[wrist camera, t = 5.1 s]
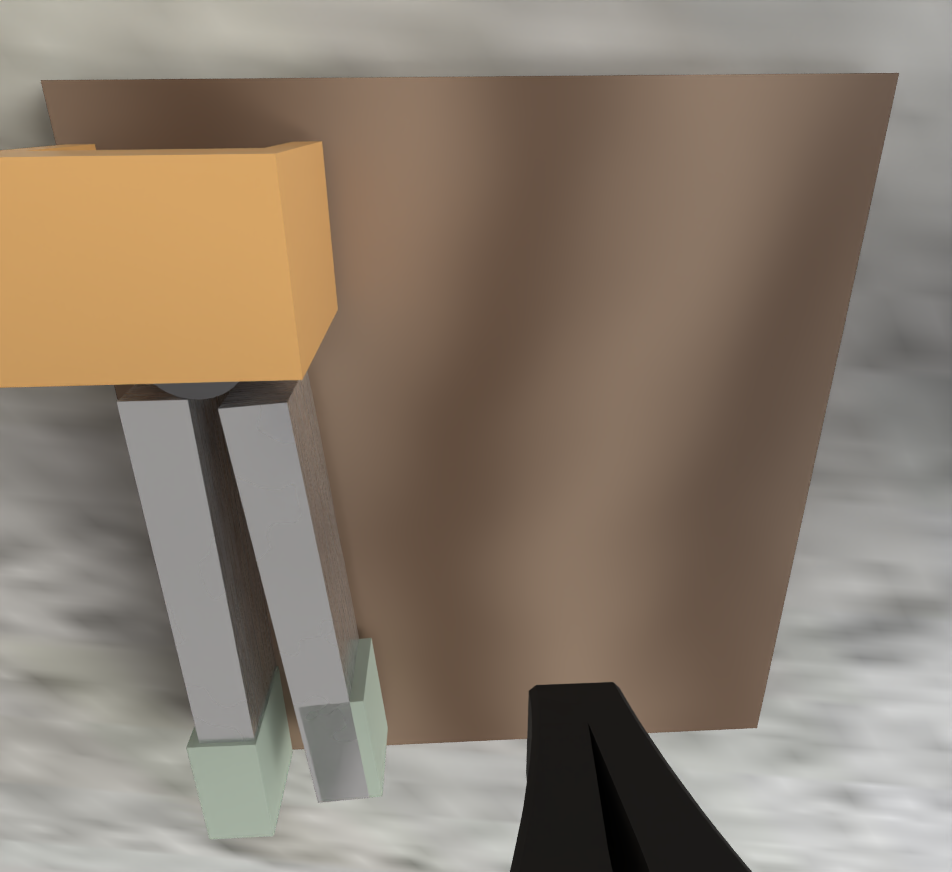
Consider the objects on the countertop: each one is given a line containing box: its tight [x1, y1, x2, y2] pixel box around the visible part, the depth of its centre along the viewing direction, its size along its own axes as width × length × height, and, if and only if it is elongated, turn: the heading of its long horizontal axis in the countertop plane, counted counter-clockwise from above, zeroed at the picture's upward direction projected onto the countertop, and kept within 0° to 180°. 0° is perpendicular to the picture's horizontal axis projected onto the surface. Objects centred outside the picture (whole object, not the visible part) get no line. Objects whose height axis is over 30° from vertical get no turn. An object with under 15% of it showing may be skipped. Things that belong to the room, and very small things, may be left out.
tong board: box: [41, 73, 899, 839], centre depth 15 cm, size 15×16×3 cm
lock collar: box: [0, 141, 338, 388], centre depth 11 cm, size 4×3×4 cm
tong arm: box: [218, 370, 388, 803], centre depth 15 cm, size 2×10×2 cm, turn 5°
